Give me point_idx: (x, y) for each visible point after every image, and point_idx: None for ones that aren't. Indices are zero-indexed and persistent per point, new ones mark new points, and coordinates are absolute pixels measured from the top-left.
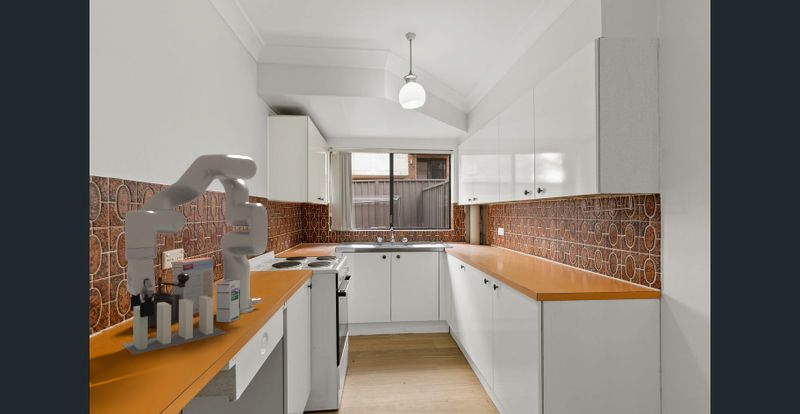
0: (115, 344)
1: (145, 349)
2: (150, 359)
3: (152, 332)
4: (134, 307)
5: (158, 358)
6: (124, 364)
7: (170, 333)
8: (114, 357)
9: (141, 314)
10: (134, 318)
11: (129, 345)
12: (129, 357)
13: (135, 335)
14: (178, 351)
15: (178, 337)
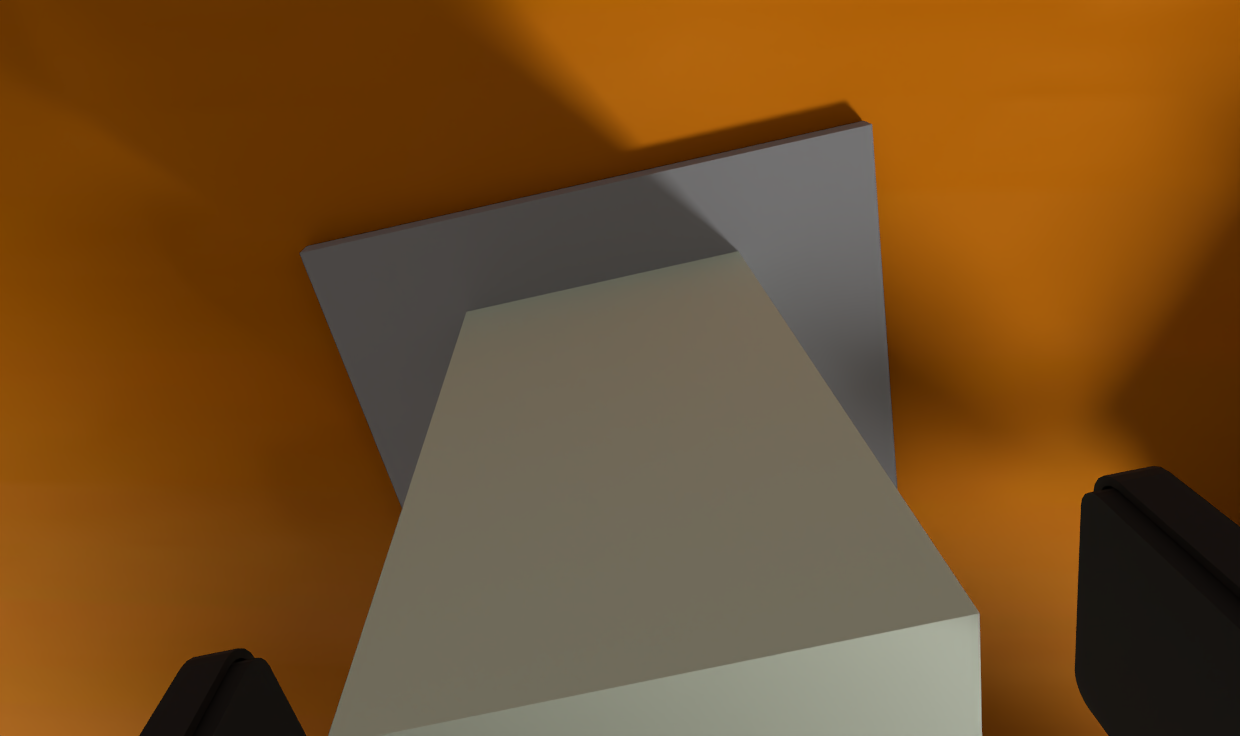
0: (1012, 38)
1: (442, 374)
2: (111, 404)
3: (1199, 437)
4: (856, 635)
5: (113, 470)
6: (30, 157)
7: None
8: (389, 38)
9: (175, 716)
10: (766, 453)
11: (741, 211)
12: (295, 208)
13: (639, 333)
14: (271, 623)
15: None
